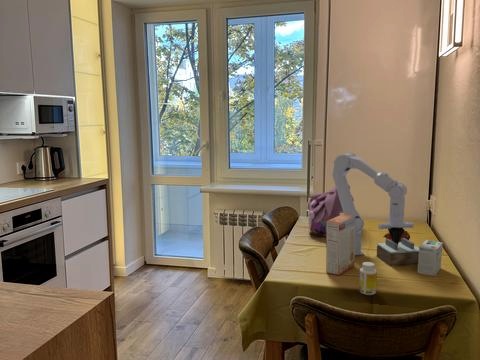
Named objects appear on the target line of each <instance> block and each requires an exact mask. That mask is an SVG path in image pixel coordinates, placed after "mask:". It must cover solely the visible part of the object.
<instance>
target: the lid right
mask: <svg viewBox="0 0 480 360" xmlns="http://www.w3.org/2000/svg"><path fill="white" fill-rule="evenodd" d="M398 247H400V248H402V249H404V250H405V251H406V252H407V253H409V252H419V247H418V246H416V245H415V243H414V242H412V241H410V239H409V240H407V239H405V238H402V240H401V242H399V243H398Z"/></svg>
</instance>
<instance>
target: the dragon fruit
mask: <svg viewBox="0 0 480 360" xmlns="http://www.w3.org/2000/svg"><path fill="white" fill-rule="evenodd" d="M410 235H411V234H410V233H409V232H408V231H407V230H405V231H404V233H403V234H402V236H401V238H400V241H399V242H401V240H402V238H405V239H407V240H409V241H410V239H411V236H410ZM383 238H385V240H386V239H390V240H391V241H392V238H391V235H390V233H389V231H388V232H387V233H385V234H384V235H383Z"/></svg>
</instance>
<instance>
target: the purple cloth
mask: <svg viewBox="0 0 480 360" xmlns="http://www.w3.org/2000/svg"><path fill="white" fill-rule="evenodd" d="M348 186H349V189H350V190H351V186H350V185H349V184H348ZM351 196H352V199H353V203H354V202H355V201H354V197H353V195H352V194H351ZM307 205H308V206H307V209H308V214H307V217H308V218H307V221H308V223H307V227H308V230H309V232H313V233H315V234H318V235H322V236H325V237H326V235H327V221H328V220H330V219H333V218H335V217H337V216H340V215H341V214H344V213H343V209H342V206H341V202H340V199H339V196H338V192H337V189H336V185H335V186H334V187H332V188H331V189H329V190H328V191H326V192H320V193H318V194H316V193H315V194H313V195H312V196H311V197H310V199H309V201H308V204H307Z"/></svg>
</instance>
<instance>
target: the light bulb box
mask: <svg viewBox="0 0 480 360" xmlns="http://www.w3.org/2000/svg"><path fill="white" fill-rule="evenodd" d="M443 244H444V243H443V242H441V241H434V240H428V239H424V241H423V242H422V243H421V244H420V245H419V247H418V248H419V257H418V265H417V274H420V275H421V274H422V275H428V276H433V277H436V276H437V275H438V273H439V271H440V270H441V269H442V268H441V267H442V256H443Z"/></svg>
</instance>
